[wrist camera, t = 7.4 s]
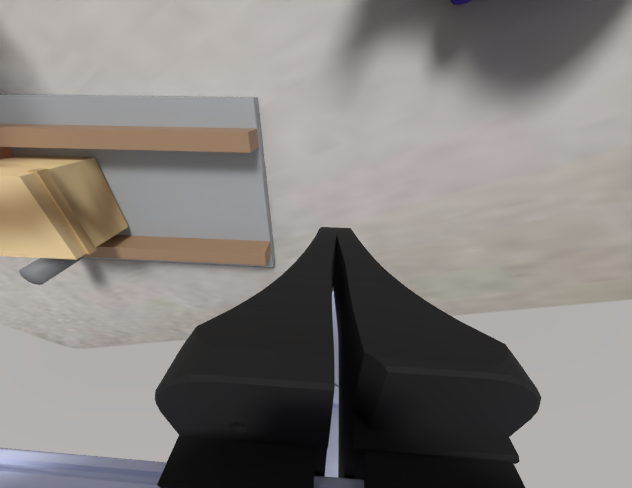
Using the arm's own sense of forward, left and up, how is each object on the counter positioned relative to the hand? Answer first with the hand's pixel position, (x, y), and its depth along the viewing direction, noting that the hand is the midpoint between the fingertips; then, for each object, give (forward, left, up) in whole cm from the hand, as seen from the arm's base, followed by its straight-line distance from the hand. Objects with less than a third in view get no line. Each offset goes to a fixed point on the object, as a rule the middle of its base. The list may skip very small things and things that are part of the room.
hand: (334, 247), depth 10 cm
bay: (-2, +16, -10) cm, 19 cm away
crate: (-1, +21, -9) cm, 23 cm away
